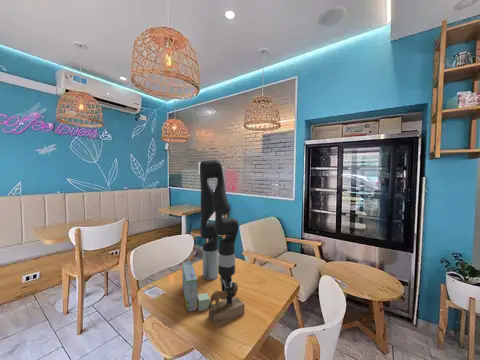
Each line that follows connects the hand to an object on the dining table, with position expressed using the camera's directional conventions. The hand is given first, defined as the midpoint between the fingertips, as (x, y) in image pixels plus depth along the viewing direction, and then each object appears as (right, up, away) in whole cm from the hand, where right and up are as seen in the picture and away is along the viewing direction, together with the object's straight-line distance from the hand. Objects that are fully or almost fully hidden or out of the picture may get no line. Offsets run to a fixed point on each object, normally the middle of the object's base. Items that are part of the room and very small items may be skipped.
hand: (226, 298), depth 94 cm
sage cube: (-11, -8, +6) cm, 15 cm away
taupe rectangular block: (0, -8, 0) cm, 8 cm away
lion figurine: (-1, -3, 0) cm, 3 cm away
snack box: (-20, -8, +12) cm, 24 cm away
